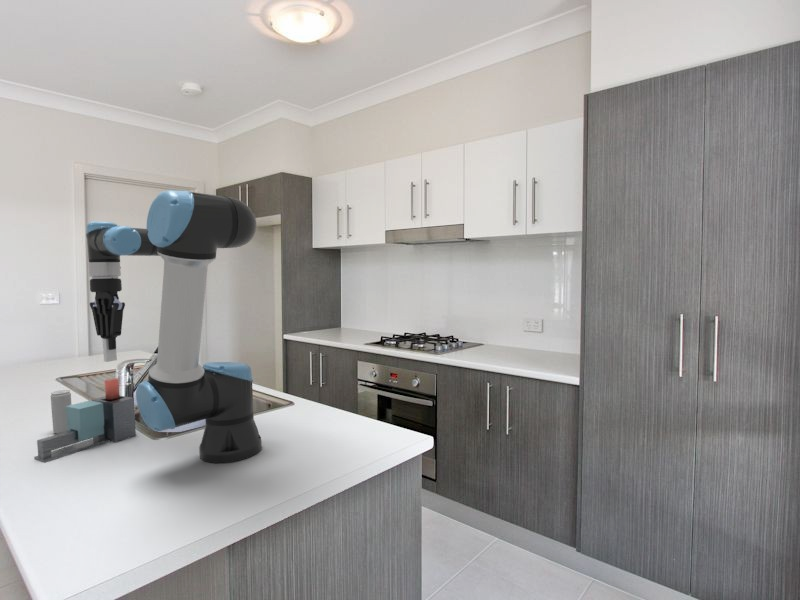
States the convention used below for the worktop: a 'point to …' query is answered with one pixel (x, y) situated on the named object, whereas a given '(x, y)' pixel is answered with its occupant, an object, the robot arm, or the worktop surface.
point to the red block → (112, 388)
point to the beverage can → (60, 410)
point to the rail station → (115, 429)
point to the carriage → (86, 419)
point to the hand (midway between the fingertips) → (110, 360)
